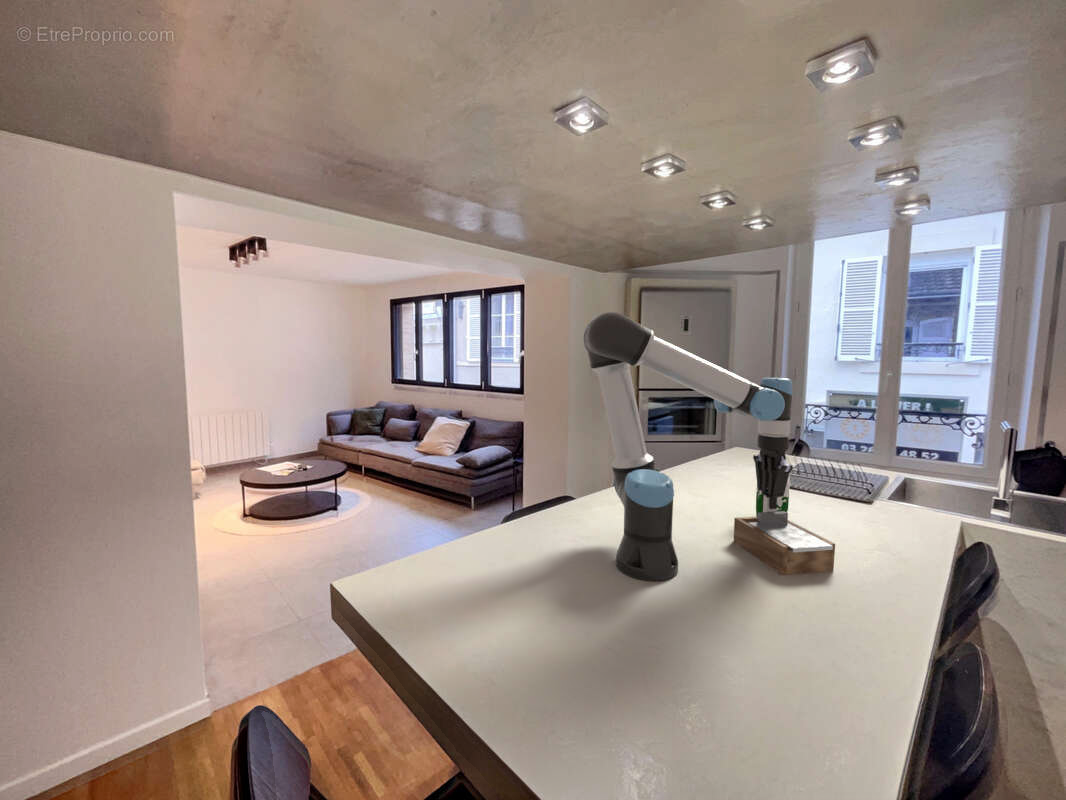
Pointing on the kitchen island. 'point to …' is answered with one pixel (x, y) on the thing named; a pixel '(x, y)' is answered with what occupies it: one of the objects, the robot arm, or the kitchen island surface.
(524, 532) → the kitchen island surface
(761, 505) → the milk carton
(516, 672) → the kitchen island surface
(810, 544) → the cover plate
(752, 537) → the box
